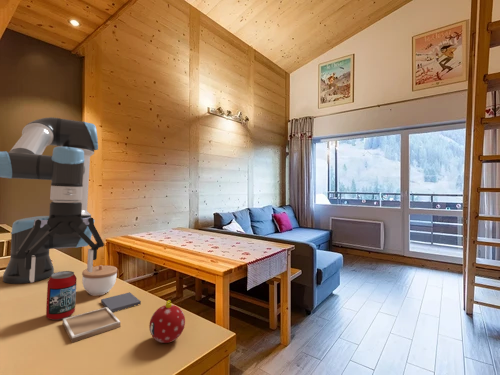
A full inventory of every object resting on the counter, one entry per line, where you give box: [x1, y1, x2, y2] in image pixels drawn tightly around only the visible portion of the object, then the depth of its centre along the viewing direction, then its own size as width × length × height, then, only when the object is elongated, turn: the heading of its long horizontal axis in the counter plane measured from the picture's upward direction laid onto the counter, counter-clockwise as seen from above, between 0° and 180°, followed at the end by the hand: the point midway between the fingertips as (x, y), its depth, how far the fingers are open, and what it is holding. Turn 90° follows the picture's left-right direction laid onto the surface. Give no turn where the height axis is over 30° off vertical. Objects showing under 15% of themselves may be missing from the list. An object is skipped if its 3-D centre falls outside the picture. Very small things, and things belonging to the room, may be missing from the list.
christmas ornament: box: [148, 299, 186, 344], centre depth 66 cm, size 9×9×10 cm
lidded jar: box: [81, 264, 118, 297], centre depth 92 cm, size 11×11×9 cm
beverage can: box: [45, 270, 77, 321], centre depth 75 cm, size 7×7×12 cm
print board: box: [62, 306, 121, 343], centre depth 71 cm, size 11×11×1 cm
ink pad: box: [100, 292, 141, 313], centre depth 84 cm, size 9×9×1 cm
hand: (62, 275), depth 74 cm, fingers open, 13 cm apart
